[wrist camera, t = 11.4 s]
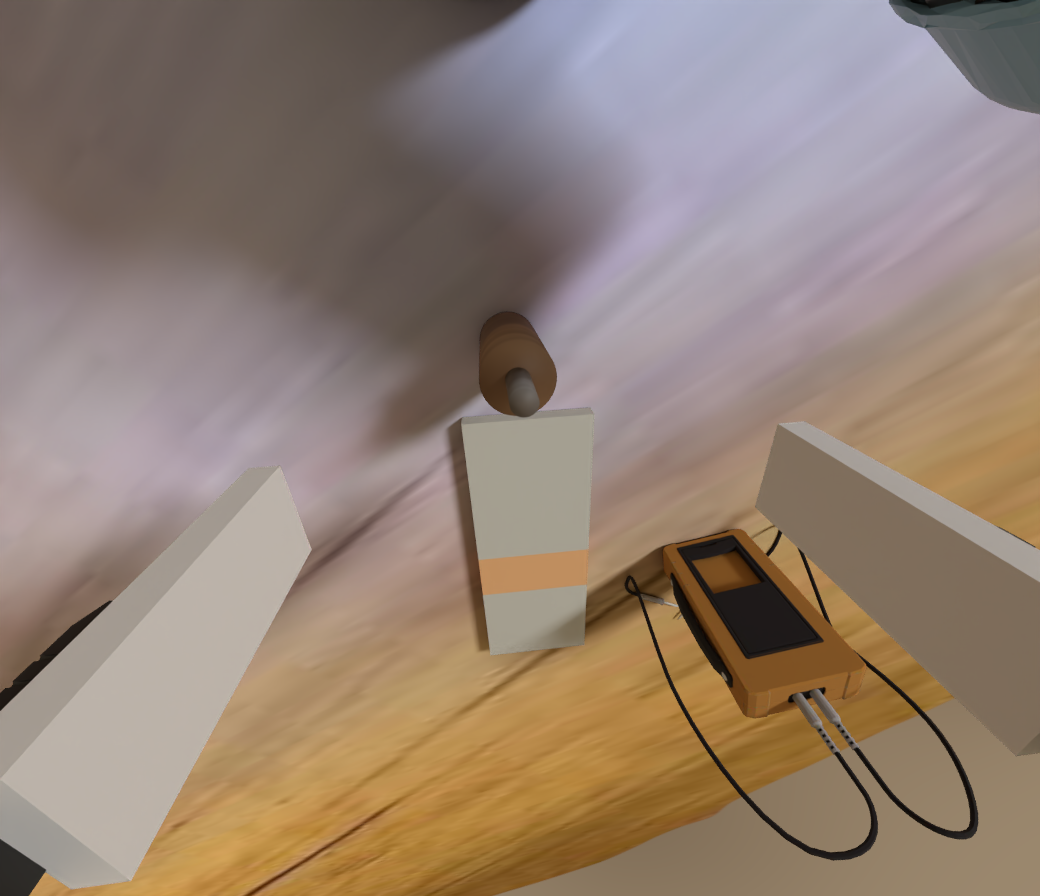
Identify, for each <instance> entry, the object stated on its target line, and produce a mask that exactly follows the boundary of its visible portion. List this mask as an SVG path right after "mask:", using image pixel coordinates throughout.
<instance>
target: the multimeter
mask: <svg viewBox="0 0 1040 896" xmlns="http://www.w3.org/2000/svg"><path fill="white" fill-rule="evenodd" d="M781 535H782V532H781V531H780V530H779V533H778V536H777V538H776V541H775V543H774V545H773V546H772V548H771V549H770V551H769V552H768V553H767V554H765V553H764V552H763V551H762V550H761V549H760V548H759V547H758V546H757V545H756V543H755V542H754V541H753V540H752V539H751V538H750V537H749V536H748V535H747V533H746V532H745V531H743V530H741V529H735V530H729V531H727V532H726V533H722V534H718V535H714V536H710V537H705V538H701V539H697V540H693V541H689V542H685V543H680V544H675V543H674V544H671V545H668V546H666V547H664V549H663V562H664V571H665V573H666V574H667V576H668V578H669V580H670V581H671V585H672V586H673V591H674V596H675V599H676V601H677V604H678V605H676V604H672V603H669V602H665V601H664V599H663V598H661V599H660V598H656V597H653V596H649V595H646V594H640V592H639V589H638V587H637V584H636V582H635V580H634V578H633V577H632V576H628V578H627V580H626V583H625V588H626V590H627V591H628V592H629V593H630V594H632V595H635V596H638V598H639V601H640V604H641V607H642V609H643V612H644V615H645V618H646V621H647V624H648V627H649V630H650V633H651V636H652V639H653V642H654V645H655V648H656V651H657V654H658V657H659V659H660V662H661V665H662V668H663V670H664V673H665V675H666V678H667V680H668V682H669V685H670V687H671V689H672V691H673V693H674V695H675V697H676V699H677V701H678V703H679V705H680V707H681V709H682V711H683V712H684V714H685V716H686V718H687V720H688V721H689V723H690V725H691V726H692V728H693V730H694V731H695V733H696V734H697V736H698V738H699V739H700V741H701V742H702V744H703V746H704V747H705V749H706V750H707V751H708V753H709V754H710V756H711V757H712V759H713V760H714V762H715V763H716V764H717V766H718V767H719V769H720V770H721V771H722V773H723V774H724V775H725V776H726V778H727V779H728V780H729V782H730V783H731V784H732V785H733V787H734V788H735V789H736V790H737V792H738V793H739V794H740V795H741V796H742V797H743V799H744V800H745V801H746V802H747V803H748V804H749V805H750V806H751V807H752V808H753V809H754V810H755V812H756V813H757V814H758V815H759V816H760V817H761V818H762V819H763V820H764V821H765V822H766V823H768V824H769V825H770V826H771V827H772V828H773V829H774V830H776V831H777V832H778V833H779V834H780V835H781V836H783V837H784V838H785V839H786V840H788V841H789V842H791V843H793V844H794V845H796V846H798V847H799V848H801V849H802V850H804V851H805V852H807V853H809V854H811V855H814V856H819V857H822V858H826V859H830V860H846V859H852V858H855V857H858V856H861V855H863V854H864V853H865V852H867V851H868V850H869V849H870V848H871V847H872V845H873V844H874V842H875V840H876V836H877V833H878V821H877V815H876V812H875V808H874V805H873V803H872V801H871V799H870V797H869V795H868V793H867V792H866V790H865V789H864V787H863V786H862V785H861V783H860V782H859V780H858V779H857V777H856V776H855V774H854V773H853V772H852V770H851V769H850V767H849V766H848V765H847V763H846V762H845V760H844V759H843V757H842V756H841V754H840V751H839V749H838V748H836V745H835V743H834V742H832V739H831V738H830V736H828V734H827V732H826V731H825V730H824V728H823V726H822V722H821V720H820V719H819V717H818V716H817V714H816V713H815V712H814V710H813V709H812V707H811V706H810V705H815V704H817V705H818V706H819V708H820V709H821V711H822V712H823V713H824V715H825V716H826V717H827V719H828V720H829V722H830V723H832V724H834V725H835V726H836V728H837V729H838V731H839V732H840V733H841V735H842V736H843V737H844V739H845V740H846V742H847V743H848V744H849V746H850V747H851V748H852V750H855V752H856V753H857V755H858V756H859V757H860V759H861V760H862V761H863V763H864V764H865V766H866V767H867V768H868V770H869V771H870V772H871V774H872V775H873V776H874V778H875V779H876V780H877V782H878V783H879V784H880V786H881V787H882V789H883V790H884V791H885V793H886V794H887V795H888V796H889V797H890V799H891V800H892V801H893V802H894V803H895V804H896V805H897V806H898V807H899V808H901V809H902V810H903V811H904V812H905V813H906V814H908V815H909V816H910V817H912V818H913V819H914V820H916V821H917V822H919V823H920V824H922V825H923V826H925V827H927V828H928V829H930V830H932V831H934V832H936V833H938V834H941V835H944V836H946V837H950V838H954V839H968V838H971V837H972V836H973V835H974V834H975V833H976V831H977V826H978V811H977V806H976V801H975V798H974V794H973V791H972V788H971V785H970V783H969V780H968V777H967V775H966V773H965V771H964V769H963V767H962V765H961V763H960V761H959V759H958V757H957V755H956V754H955V752H954V751H953V749H952V747H951V745H950V744H949V743H948V741H947V740H946V739H945V737H944V735H943V734H942V733H941V731H940V730H939V729H938V728H937V726H936V725H935V724H934V723H933V722H932V720H931V719H930V718H929V717H928V716H927V715H926V714H925V713H924V712H923V711H922V710H921V709H920V708H919V706H918V705H917V704H916V703H915V702H914V701H912V700H911V699H910V698H909V697H908V696H907V695H906V694H905V693H904V692H903V691H902V690H901V689H900V688H899V687H897V686H896V685H895V684H894V683H893V682H892V681H891V680H889V679H888V678H887V677H886V676H885V675H884V674H882V673H881V672H880V671H879V670H878V669H876V668H875V667H874V666H873V665H871V664H870V663H869V662H868V661H866V660H865V659H864V658H863V657H861V656H860V655H859V654H858V653H857V652H855V651H854V650H853V649H852V648H851V647H850V646H849V645H848V644H847V643H846V642H845V641H844V639H843V638H842V637H841V636H840V635H839V634H838V633H837V632H836V631H835V630H834V628H833V627H832V625H831V623H830V620H829V618H828V615H827V613H826V610H825V608H824V605H823V602H822V600H821V597H820V594H819V592H818V589H817V586H816V584H815V581H814V579H813V576H812V573H811V571H810V568H809V565H808V563H807V560H806V558H805V555H804V553H803V552H802V551H801V550H800V549H799V548H798V550H799V552H800V555H801V557H802V560H803V562H804V565H805V568H806V570H807V573H808V576H809V578H810V581H811V584H812V586H813V589H814V592H815V595H816V597H817V600H818V603H819V605H820V608H821V611H822V613H823V616H824V617H823V616H822V615H821V614H820V613H819V612H818V611H817V610H816V609H815V608H814V606H813V605H812V604H811V603H810V602H809V601H808V600H807V599H806V598H805V597H804V595H803V594H802V593H801V592H800V591H799V590H798V589H797V588H796V587H795V586H794V584H793V583H792V582H791V581H790V580H789V579H788V578H787V577H786V576H785V575H784V574H783V572H782V571H781V570H780V569H779V568H778V567H777V566H776V565H775V564H774V563H773V562H772V561H771V560H770V558H769V557H768V556H769V555H770V554H771V553H772V552H773V551H774V549H775V547H776V546H777V544H778V542H779V540H780V537H781ZM630 579H631V581H632V583H633V585H634V587H635V590H636V592H637V593H635V592H632V591H631V590H629V588H628V583H629V580H630ZM642 599H644V600H648V601H651V602H655V603H659V604H660V605H663V604H664V603H665V604H668V605H672V606H676V607H679V609H680V611H681V615H680V616H679V618H678V619H680V618H681V617H682V616H683V617H684V619H685V621H686V623H687V625H688V626H689V628H690V630H691V632H692V634H693V635H694V637H695V639H696V641H697V643H698V644H699V646H700V648H701V649H702V651H703V653H704V654H705V656H706V657H707V659H708V660H709V662H710V663H711V665H712V666H713V668H714V669H715V670H716V671H717V672H718V673H719V674H720V675H721V676H722V677H723V679H724V680H725V682H726V684H727V686H728V688H729V689H730V691H731V693H732V695H733V697H734V698H735V700H736V702H737V704H738V706H739V707H740V709H741V711H742V713H743V714H744V715H745V716H746V717H751V718H761V717H767V716H768V715H770V714H775V713H779V712H784V711H788V710H792V709H797V708H800V710H801V711H802V713H803V714H804V716H805V717H806V719H807V720H808V722H809V723H810V725H811V726H812V727H814V728H816V730H817V731H818V733H819V734H820V736H821V737H822V739H823V740H824V742H825V743H826V745H827V746H828V747H829V749H830V750H831V752H832V753H833V754H834V755H836V757H837V758H838V759H839V761H840V763H841V764H842V765H843V767H844V768H845V770H846V771H847V773H848V774H849V776H850V777H851V779H852V780H853V781H854V782H855V784H856V786H857V787H858V789H859V790H860V792H861V793H862V794H863V796H864V798H865V800H866V802H867V804H868V807H869V810H870V815H871V829H870V832H869V835H868V837H867V838H866V840H865V841H864V842H863V843H862V844H861V845H859V846H858V847H856V848H854V849H851V850H848V851H844V852H826V851H823V850H818V849H815V848H811V847H809V846H807V845H805V844H804V843H802V842H800V841H799V840H797V839H795V838H794V837H792V836H791V835H789V834H787V833H786V832H785V831H784V830H783V829H782V828H780V827H779V826H778V825H777V824H776V823H775V822H773V821H772V820H771V819H770V818H769V817H768V816H766V815H765V814H764V813H763V812H762V811H761V809H760V808H759V807H758V806H756V804H755V803H754V802H753V801H752V800H751V799H750V798H749V797H748V796H747V795H746V793H745V792H744V791H743V790H742V789H741V788H740V786H739V785H738V784H737V783H736V781H735V780H734V779H733V778H732V776H731V775H730V774H729V773H728V771H727V770H726V769H725V768H724V766H723V765H722V764H721V762H720V761H719V759H718V758H717V757H716V755H715V754H714V752H713V751H712V749H711V748H710V747H709V745H708V744H707V742H706V741H705V739H704V738H703V736H702V734H701V733H700V731H699V730H698V728H697V727H696V725H695V723H694V722H693V720H692V718H691V717H690V715H689V713H688V711H687V710H686V708H685V706H684V704H683V702H682V700H681V699H680V697H679V695H678V693H677V691H676V689H675V687H674V684H673V682H672V680H671V678H670V675H669V673H668V670H667V668H666V665H665V662H664V660H663V657H662V654H661V652H660V649H659V646H658V643H657V640H656V638H655V635H654V632H653V629H652V626H651V623H650V620H649V617H648V614H647V611H646V608H645V606H644V603H643V600H642ZM824 618H825V619H824ZM866 666H867V667H868V668H870V669H871V670H872V671H873V672H875V673H876V674H877V675H878V676H879V677H881V678H882V679H883V680H884V681H885V682H886V683H887V684H889V685H890V686H891V687H892V688H893V689H894V690H895V691H896V692H898V693H899V694H900V695H901V696H902V697H903V698H904V699H905V700H906V701H907V702H908V703H909V704H910V705H911V706H912V707H913V708H914V709H915V710H916V711H917V712H918V713H919V715H920V716H921V717H922V718H923V719H924V720H925V721H926V722H927V723H928V725H929V726H930V727H931V728H932V729H933V731H934V732H935V733H936V735H937V736H938V737H939V739H940V740H941V742H942V743H943V745H944V746H945V748H946V750H947V751H948V753H949V755H950V756H951V758H952V760H953V762H954V764H955V766H956V768H957V770H958V772H959V774H960V777H961V780H962V782H963V785H964V787H965V790H966V794H967V798H968V802H969V808H970V824H969V827H968V828H967V829H966V830H963V831H949V830H945V829H943V828H940V827H937V826H935V825H933V824H931V823H929V822H927V821H926V820H924V819H923V818H921V817H919V816H918V815H917V814H915V813H914V812H913V811H911V810H910V809H909V808H907V807H906V806H905V805H904V804H903V803H902V802H901V801H900V800H899V799H898V798H897V797H896V796H895V795H894V794H893V793H892V792H891V790H890V789H889V788H888V787H887V785H886V784H885V783H884V781H883V780H882V779H881V777H880V776H879V775H878V773H877V772H876V771H875V769H874V768H873V767H872V765H871V764H870V762H869V761H868V760H867V759H866V757H865V756H864V754H863V753H862V752H861V750H860V749H859V748H860V747H859V746H858V744H856V743H855V740H854V739H853V738H852V737H851V735H850V734H849V732H847V731H846V728H845V727H844V726H843V725H842V723H841V721H840V717H839V715H838V714H837V713H836V711H835V710H834V709H833V707H832V706H831V705H830V704H829V702H828V701H833V700H837V699H841V698H842V699H847V698H850V697H853V696H856V695H857V694H858V693H859V692H860V688H861V684H862V681H863V678H864V675H865V672H866V669H867V667H866Z"/></svg>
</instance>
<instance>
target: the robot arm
mask: <svg viewBox="0 0 1040 896" xmlns="http://www.w3.org/2000/svg"><path fill="white" fill-rule="evenodd" d="M889 4H890V5H891V7H892V8H893V10H894V11H895V13H896V14H897V15H898V16H899V17H901V18H902V19H903V20H904V21H905V22H907V23H910V24H913V25H916V26H919V27H922V28H925V29H926V30H927V31H928V32H929V34H930V35H931V36H932V37H933V38H934V40H935V41H936V42H937V43H938V45H939V46H940V47H941V48H942V49H943V51H944V52H945V53H946V54H947V56H948V57H949V58H950V59H951V60H952V62H953V63H954V64H955V65H956V67H957V68H958V69H959V70H960V71H961V73H962V74H963V75H964V76H965V78H966V79H967V80H968V81H969V82H970V84H971V85H972V86H973V87H974V88H975V89H977V90H978V91H979V92H981V93H982V94H983V95H985V96H986V97H987V98H989V99H990V100H993V101H995V102H997V103H999V104H1001V105H1004V106H1006V107H1009V108H1012V109H1016V110H1020V111H1025V112H1030V113H1036V114H1040V0H889ZM755 507H756V508H757V509H758V510H759V511H760V512H761V513H762V514H763V515H764V516H765V517H766V518H767V519H768V520H769V521H770V522H772V523H773V524H774V525H775V526H776V527H777V528H778V529H779V530H780V531H781V532H782V533H783V534H784V535H785V536H786V537H787V538H788V539H789V540H790V541H791V542H792V543H793V544H795V545H796V546H797V547H798V548H799V549H800V550H801V551H802V552H803V553H804V554H805V555H806V556H807V557H808V558H809V559H810V560H811V561H812V562H813V563H814V564H815V565H817V566H818V567H819V568H820V569H821V570H822V571H823V572H824V573H825V574H826V575H827V576H828V577H829V578H830V579H831V580H832V581H833V582H834V583H835V584H836V585H837V586H838V587H840V588H841V589H842V590H843V591H844V592H845V593H846V594H847V595H848V596H849V597H850V598H851V599H852V600H853V601H854V602H855V603H856V604H857V605H858V606H859V607H860V608H862V609H863V610H864V611H865V612H866V613H867V614H868V615H869V616H870V617H871V618H872V619H873V620H874V621H875V622H876V623H877V624H878V625H879V626H880V627H881V628H882V629H883V630H885V631H886V632H887V633H888V634H889V635H890V636H891V637H892V638H893V639H894V640H895V641H896V642H897V643H898V644H899V645H900V646H901V647H902V648H903V649H904V650H905V651H907V652H908V653H909V654H910V655H911V656H912V657H913V658H914V659H915V660H916V661H917V662H918V663H919V664H920V665H921V666H922V667H923V668H924V669H925V670H926V671H927V672H928V673H930V674H931V675H932V676H933V677H934V678H935V679H936V680H937V681H938V682H939V683H940V684H941V685H942V686H943V687H944V688H945V689H946V690H947V691H948V692H949V693H950V694H952V695H953V696H954V697H955V698H956V699H957V700H958V701H959V702H960V703H961V704H962V705H963V706H964V707H965V708H966V709H967V710H968V711H969V712H970V713H971V714H973V715H974V716H975V717H976V718H977V719H978V720H979V721H980V722H981V723H982V724H983V725H984V726H985V727H986V728H987V729H988V730H989V731H990V732H992V733H993V735H994V736H996V737H997V738H998V739H999V740H1000V741H1001V742H1002V743H1003V744H1004V745H1005V746H1006V747H1007V748H1008V749H1009V750H1010V751H1011V752H1012V753H1013V754H1014V755H1015V756H1020V755H1028V754H1035V753H1040V550H1038V549H1036V548H1035V546H1033V545H1031V544H1029V543H1028V542H1026V541H1024V540H1022V539H1020V538H1018V537H1017V536H1015V535H1013V534H1011V533H1009V532H1007V531H1006V530H1004V529H1002V528H1000V527H997V526H995V525H993V524H991V523H989V522H987V521H985V520H983V519H982V518H980V517H978V516H976V515H974V514H973V513H971V512H969V511H967V510H965V509H963V508H962V507H960V506H958V505H956V504H954V503H952V502H951V501H949V500H947V499H945V498H943V497H942V496H940V495H938V494H936V493H934V492H932V491H931V490H929V489H927V488H925V487H923V486H921V485H920V484H918V483H916V482H914V481H912V480H910V479H909V478H907V477H905V476H903V475H901V474H900V473H898V472H896V471H894V470H892V469H890V468H889V467H887V466H885V465H883V464H881V463H879V462H878V461H876V460H874V459H872V458H870V457H869V456H867V455H865V454H863V453H861V452H859V451H858V450H856V449H854V448H852V447H850V446H848V445H847V444H845V443H843V442H841V441H839V440H838V439H836V438H834V437H832V436H830V435H828V434H827V433H825V432H823V431H821V430H819V429H817V428H816V427H814V426H812V425H810V424H808V423H806V422H793V423H781V424H778V425H777V429H776V432H775V436H774V440H773V443H772V447H771V451H770V454H769V458H768V462H767V465H766V469H765V473H764V476H763V480H762V483H761V487H760V491H759V494H758V498H757V502H756V505H755ZM311 550H312V549H311V547H310V544H309V541H308V539H307V536H306V533H305V531H304V528H303V525H302V523H301V520H300V517H299V515H298V512H297V509H296V507H295V504H294V501H293V499H292V496H291V493H290V491H289V488H288V485H287V483H286V480H285V477H284V475H283V472H282V469H281V467H280V466H270V467H258V468H248V469H247V470H246V471H245V472H244V473H243V474H242V475H241V476H240V477H239V478H238V479H237V480H236V481H235V482H234V483H233V484H232V485H231V486H230V487H229V488H228V489H227V490H226V491H225V492H224V493H223V494H222V495H221V496H220V497H219V498H218V499H217V500H216V501H215V502H214V503H213V504H212V505H211V506H210V507H209V508H208V509H206V510H205V511H204V512H203V513H202V514H201V515H200V516H199V517H198V518H197V519H196V520H195V521H194V522H193V523H192V524H191V525H190V526H189V527H188V528H187V529H186V530H185V531H184V532H183V533H182V534H181V535H180V536H179V537H178V538H177V539H176V540H175V541H174V542H173V543H172V544H171V545H170V546H169V547H168V548H167V549H166V550H165V551H164V552H163V553H162V554H160V555H159V556H158V557H157V558H156V559H155V560H154V561H153V562H152V563H151V564H150V565H149V566H148V567H147V568H146V569H145V570H144V571H143V572H142V573H141V574H140V575H139V576H138V577H137V578H136V579H135V580H134V581H133V582H132V583H131V584H130V585H129V586H128V587H127V588H126V589H125V590H124V591H123V592H122V593H121V594H120V595H119V596H118V597H117V598H116V599H114V600H113V601H108V602H107V603H105V604H104V605H102V606H101V607H99V608H98V609H96V610H95V611H93V612H92V613H90V614H89V615H87V616H86V617H84V618H83V619H81V620H80V621H78V622H77V623H75V624H74V625H72V626H71V627H70V628H69V629H68V630H67V631H66V632H65V633H64V634H63V635H62V636H60V637H59V638H58V639H57V640H56V641H55V642H54V643H53V644H52V645H51V646H50V647H49V648H48V649H47V650H46V651H45V652H43V653H42V654H41V655H40V657H41V658H40V660H39V661H35V662H33V663H32V664H31V665H30V666H29V667H27V668H26V669H25V670H24V671H23V672H22V673H21V674H20V675H19V676H18V677H17V678H16V679H15V680H14V681H13V685H12V687H10V688H5V689H4V690H3V691H2V692H1V693H0V896H29V895H30V893H31V892H32V890H33V889H34V887H35V886H36V884H37V883H38V882H39V880H40V879H41V877H42V876H43V874H44V873H45V872H46V873H48V874H49V875H51V876H52V877H54V878H55V879H57V880H58V881H60V882H61V883H63V884H64V885H66V886H67V887H69V888H70V889H77V888H84V887H91V886H98V885H105V884H112V883H119V882H127V881H131V880H132V878H133V876H134V874H135V872H136V871H137V869H138V867H139V865H140V863H141V861H142V860H143V858H144V856H145V854H146V852H147V850H148V849H149V847H150V845H151V843H152V841H153V839H154V838H155V836H156V834H157V832H158V830H159V828H160V827H161V825H162V823H163V821H164V819H165V817H166V816H167V814H168V812H169V810H170V808H171V806H172V805H173V803H174V801H175V799H176V797H177V795H178V794H179V792H180V790H181V788H182V786H183V784H184V783H185V781H186V779H187V777H188V775H189V773H190V772H191V770H192V768H193V766H194V764H195V762H196V761H197V759H198V757H199V755H200V753H201V751H202V750H203V748H204V746H205V744H206V742H207V740H208V739H209V737H210V735H211V733H212V731H213V729H214V728H215V726H216V724H217V722H218V720H219V718H220V717H221V715H222V713H223V711H224V709H225V707H226V706H227V704H228V702H229V700H230V698H231V696H232V695H233V693H234V691H235V689H236V687H237V685H238V684H239V682H240V680H241V678H242V676H243V674H244V673H245V671H246V669H247V667H248V665H249V664H250V662H251V660H252V658H253V656H254V654H255V653H256V651H257V649H258V647H259V645H260V643H261V642H262V640H263V638H264V636H265V634H266V632H267V631H268V629H269V627H270V625H271V623H272V621H273V620H274V618H275V616H276V614H277V612H278V610H279V609H280V607H281V605H282V603H283V601H284V599H285V598H286V596H287V594H288V592H289V590H290V588H291V587H292V585H293V583H294V581H295V579H296V577H297V576H298V574H299V572H300V570H301V568H302V566H303V565H304V563H305V561H306V559H307V557H308V555H309V554H310V552H311Z"/></svg>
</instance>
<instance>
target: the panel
mask: <svg viewBox="0 0 1040 896" xmlns="http://www.w3.org/2000/svg"><path fill="white" fill-rule="evenodd" d="M461 426H462V434H463V442H464V450H465V458H466V466H467V474H468V482H469V489H470V497H471V505H472V513H473V521H474V529H475V537H476V545H477V553H478V560H479V568H480V576H481V584H482V592H483V600H484V608H485V616H486V623H487V631H488V639H489V647H490V655H498V654H507V653H516V652H525V651H534V650H543V649H552V648H561V647H570V646H579V645H584V639H585V616H586V593H587V570H588V547H589V524H590V501H591V478H592V455H593V432H594V413H593V411H592V410H591V408H578V409H565V410H552V411H539V412H536V413H535V414H533V415H532V416H530V417H525V418H523V417H518V416H510V415H506V414H500V415H487V416H474V417H462V422H461Z"/></svg>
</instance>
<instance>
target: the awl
mask: <svg viewBox="0 0 1040 896" xmlns="http://www.w3.org/2000/svg"><path fill="white" fill-rule="evenodd" d="M556 382H557V373H556V368H555V365H554V362H553V361H552V359H551V357H550V355H549V354H548V352H547V350H546V348H545V347H544V345H543V343H542V342H541V340H540V338H539V337H538V335H537V333H536V332H535V330H534V328H533V327H532V325H531V324H530V322H529V321H528V320H527V319H526V318H525V317H523V316H522V315H520V314H517V313H514V312H502V313H499V314H496V315H494V316H493V317H491V318H490V319H489V320H488V321H487V322H486V323H485V325H484V326H483V328H482V330H481V334H480V353H479V384H480V389H481V392H482V394H483V397H484V398H485V400H486V401H487V402H488V404H489V405H490V406H492V407H493V408H494V409H495V410H497V411H499V412H501V413H503V414H506V415H510V416H518V417H523V418H525V417H530V416H532V415H533V414H535V413H536V411H537V410H539V409H540V408H542V407H543V406H544V405H545V404H546V403H547V402H548V401H549V399H550V398H551V396H552V395H553V393H554V390H555V387H556Z"/></svg>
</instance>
